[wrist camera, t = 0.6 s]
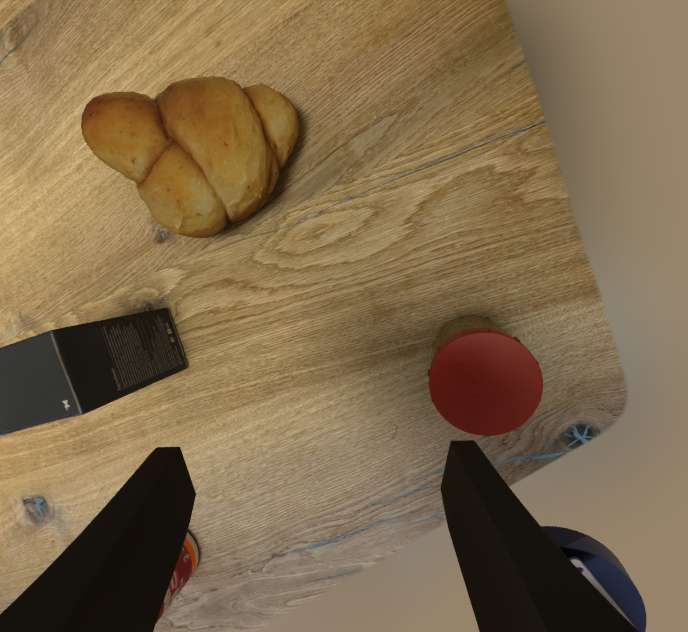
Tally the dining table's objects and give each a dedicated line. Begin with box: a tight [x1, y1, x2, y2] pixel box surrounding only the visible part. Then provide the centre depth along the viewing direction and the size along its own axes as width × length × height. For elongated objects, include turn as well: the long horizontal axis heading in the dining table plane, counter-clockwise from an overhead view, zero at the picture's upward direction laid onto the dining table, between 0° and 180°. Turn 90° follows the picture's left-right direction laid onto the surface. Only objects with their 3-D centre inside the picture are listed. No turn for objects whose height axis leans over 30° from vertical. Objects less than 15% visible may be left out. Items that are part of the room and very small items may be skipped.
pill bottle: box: [156, 532, 199, 623], centre depth 31 cm, size 6×6×11 cm
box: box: [0, 308, 188, 437], centre depth 29 cm, size 8×6×11 cm
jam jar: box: [433, 315, 502, 356], centre depth 24 cm, size 5×5×7 cm
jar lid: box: [428, 327, 543, 436], centre depth 21 cm, size 6×6×1 cm
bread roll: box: [81, 76, 299, 238], centre depth 25 cm, size 13×10×8 cm
